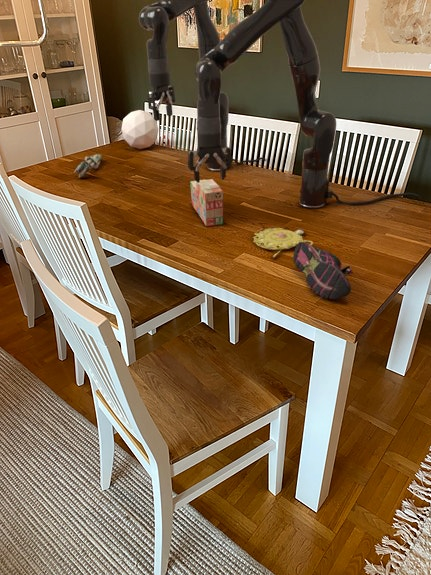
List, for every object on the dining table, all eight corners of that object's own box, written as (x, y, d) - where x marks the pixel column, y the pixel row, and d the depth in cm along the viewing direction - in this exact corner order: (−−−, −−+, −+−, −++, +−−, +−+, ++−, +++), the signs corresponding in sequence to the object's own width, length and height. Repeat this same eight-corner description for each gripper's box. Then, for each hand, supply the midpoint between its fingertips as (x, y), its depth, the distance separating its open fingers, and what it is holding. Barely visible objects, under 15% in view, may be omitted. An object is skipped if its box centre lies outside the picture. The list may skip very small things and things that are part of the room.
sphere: (134, 159, 245) (115, 127, 242) (165, 142, 247) (146, 110, 244) (133, 150, 226) (112, 115, 223) (166, 132, 228) (146, 97, 226)
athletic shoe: (337, 289, 105) (377, 281, 109) (296, 226, 117) (333, 221, 121) (320, 316, 114) (357, 308, 118) (283, 255, 126) (318, 250, 130)
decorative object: (267, 219, 151) (324, 228, 141) (267, 226, 152) (323, 235, 143) (237, 243, 137) (298, 255, 127) (238, 250, 138) (298, 263, 128)
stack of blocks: (191, 204, 170) (189, 173, 163) (207, 202, 171) (205, 171, 164) (206, 226, 152) (205, 192, 146) (223, 224, 154) (223, 190, 147)
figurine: (78, 158, 192) (99, 144, 218) (67, 172, 195) (90, 156, 221) (91, 170, 194) (110, 155, 220) (80, 183, 197) (101, 166, 224)
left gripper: (156, 74, 154) (161, 123, 163) (178, 69, 165) (181, 114, 174) (138, 74, 157) (144, 121, 166) (161, 68, 168) (165, 113, 177)
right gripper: (190, 135, 134) (192, 186, 143) (234, 131, 138) (234, 181, 146) (184, 129, 141) (186, 179, 149) (226, 126, 144) (227, 174, 153)
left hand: (163, 117), depth 170 cm, fingers open, 8 cm apart
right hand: (210, 180), depth 148 cm, fingers open, 8 cm apart
